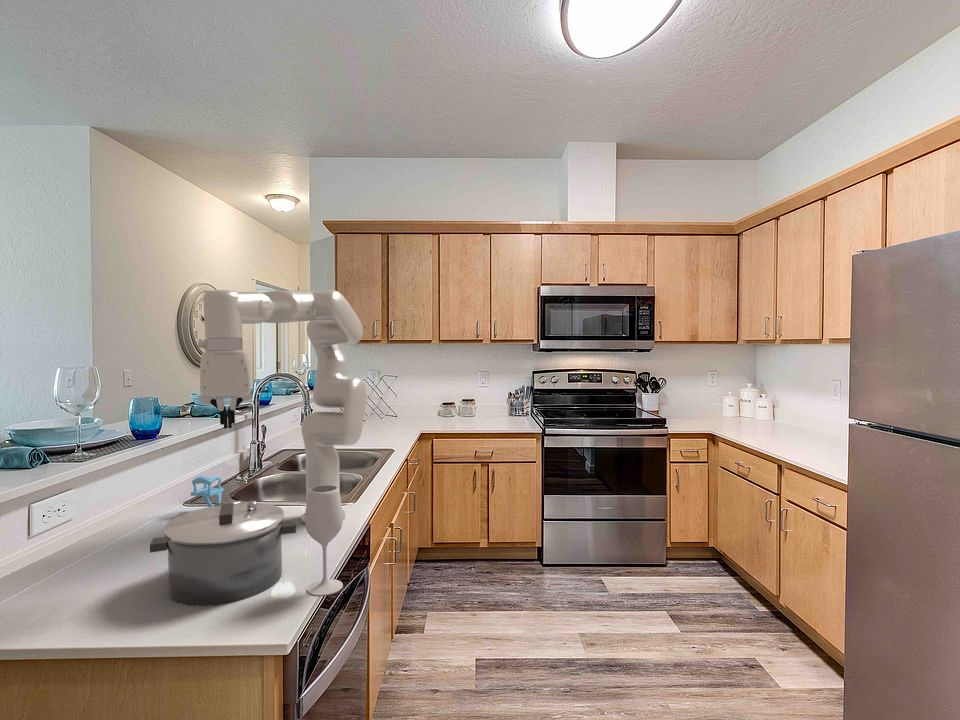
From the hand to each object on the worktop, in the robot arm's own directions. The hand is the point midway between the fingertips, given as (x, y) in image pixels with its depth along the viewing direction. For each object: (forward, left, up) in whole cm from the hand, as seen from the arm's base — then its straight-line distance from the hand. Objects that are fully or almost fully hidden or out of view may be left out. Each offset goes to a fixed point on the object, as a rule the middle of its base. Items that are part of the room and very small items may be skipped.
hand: (227, 427), depth 118 cm
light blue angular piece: (-50, -8, -33) cm, 60 cm away
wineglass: (+17, +19, -33) cm, 42 cm away
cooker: (+5, 0, -33) cm, 33 cm away
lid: (+5, 0, -21) cm, 21 cm away
